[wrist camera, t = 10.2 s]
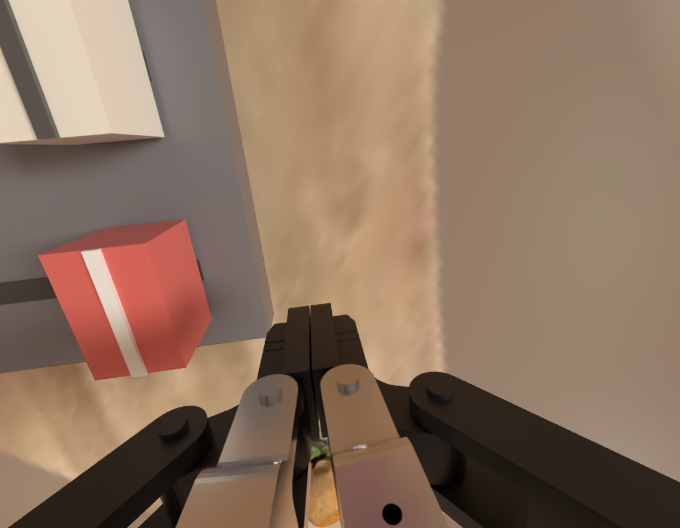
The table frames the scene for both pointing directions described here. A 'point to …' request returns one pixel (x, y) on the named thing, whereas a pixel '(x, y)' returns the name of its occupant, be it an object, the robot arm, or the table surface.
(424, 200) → the table surface
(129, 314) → the block
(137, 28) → the console
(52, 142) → the block
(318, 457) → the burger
